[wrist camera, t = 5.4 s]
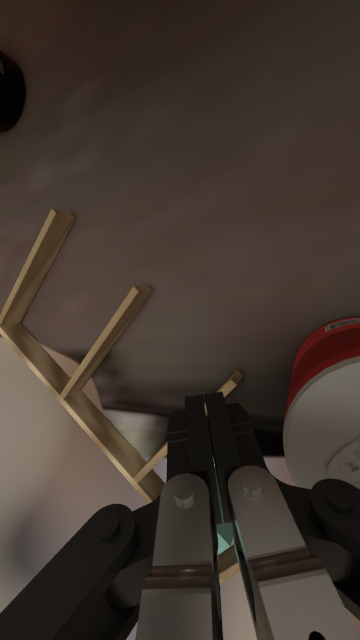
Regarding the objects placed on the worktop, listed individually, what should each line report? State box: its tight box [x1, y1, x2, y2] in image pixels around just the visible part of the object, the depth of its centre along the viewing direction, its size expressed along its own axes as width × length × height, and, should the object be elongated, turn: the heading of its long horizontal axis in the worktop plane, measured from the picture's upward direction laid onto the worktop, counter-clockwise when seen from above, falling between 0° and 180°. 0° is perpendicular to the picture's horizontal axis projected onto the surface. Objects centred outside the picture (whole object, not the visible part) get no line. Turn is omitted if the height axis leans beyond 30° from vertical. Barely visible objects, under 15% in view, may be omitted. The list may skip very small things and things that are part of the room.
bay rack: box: [0, 209, 244, 583], centre depth 27 cm, size 32×15×2 cm, turn 51°
